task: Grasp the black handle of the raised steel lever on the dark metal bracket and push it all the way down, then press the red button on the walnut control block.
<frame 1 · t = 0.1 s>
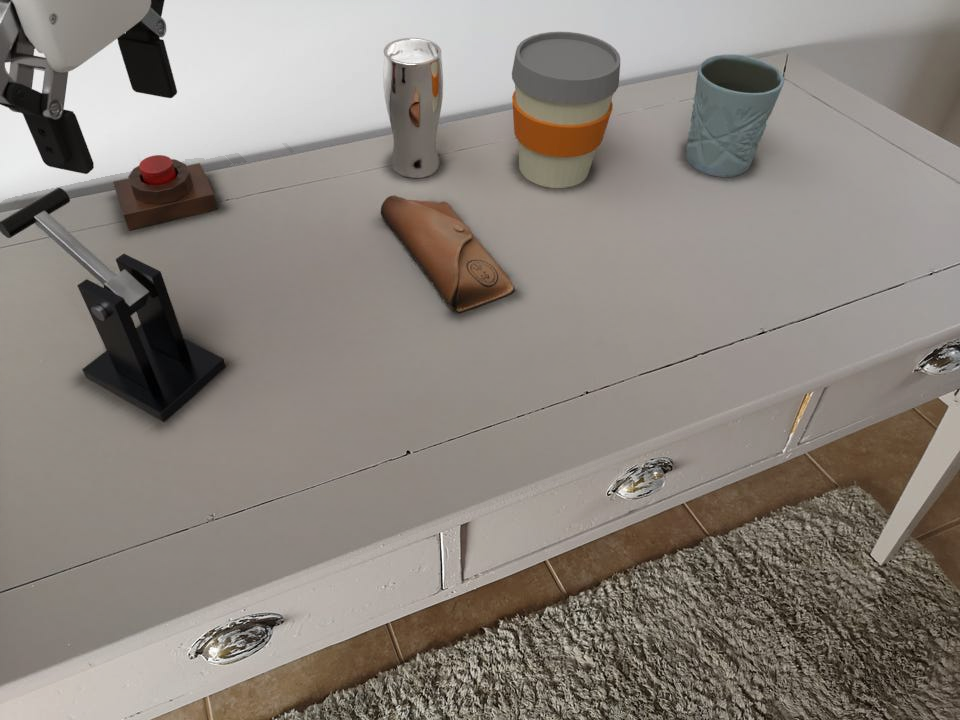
hand: (115, 128, 51), 28 cm above the table, tool pointing down, fingers open, 9 cm apart
bracket: (156, 372, 74), on the table
reusable coffee cup: (553, 169, 100), on the table
button: (157, 170, 88), point 5 cm above the table, slide at 0.2 cm
lever: (83, 256, 66), point 12 cm above the table, hinge at 30.0°
embossed green cup: (715, 160, 103), on the table
sunglasses case: (446, 256, 87), on the table
control block: (167, 203, 92), on the table
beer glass: (415, 166, 99), on the table
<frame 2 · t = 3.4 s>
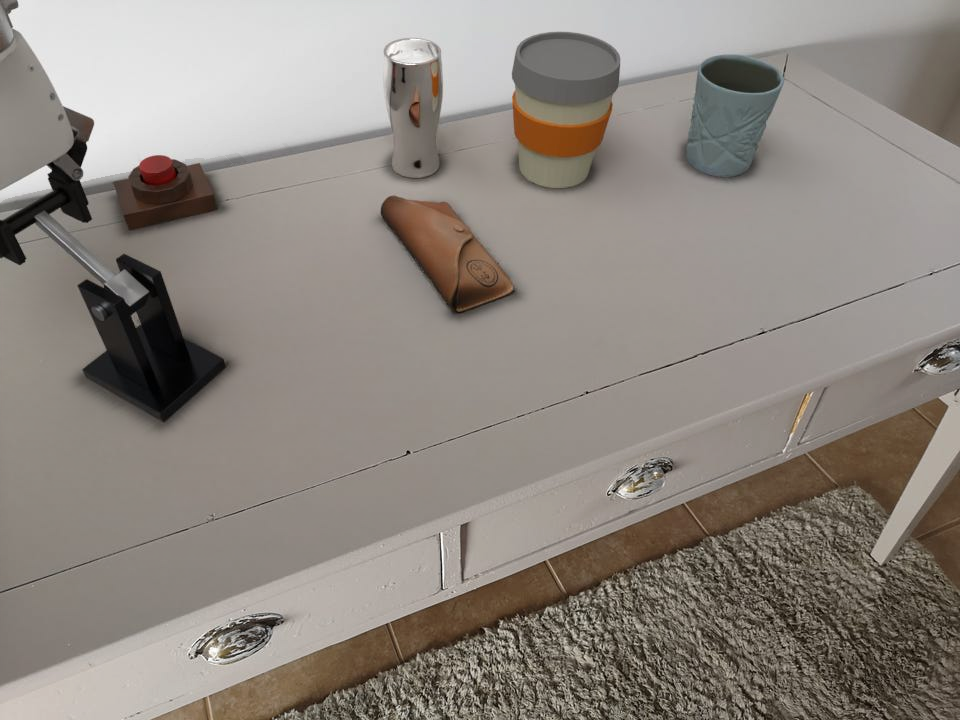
hand: (45, 235, 67), 13 cm above the table, tool pointing down, fingers closed on lever, 6 cm apart
lever: (83, 256, 66), point 12 cm above the table, hinge at 30.0°, touching gripper
everything else where it was.
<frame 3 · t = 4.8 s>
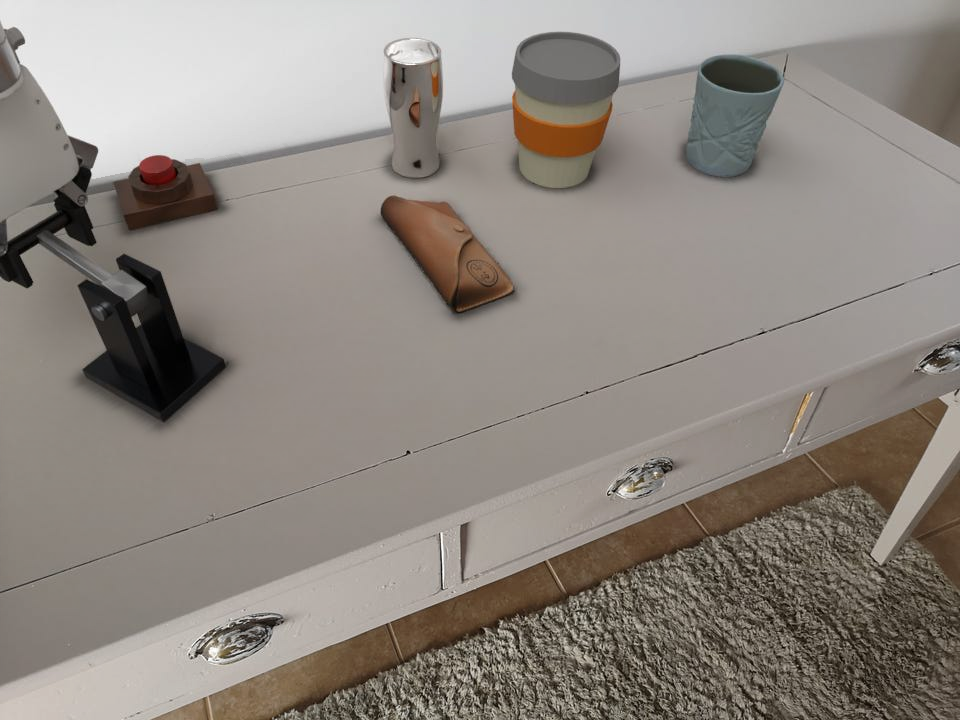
hand: (51, 258, 70), 10 cm above the table, tool pointing down, fingers closed on lever, 6 cm apart
lever: (84, 265, 67), point 11 cm above the table, hinge at 13.4°, touching gripper
everything else where it was.
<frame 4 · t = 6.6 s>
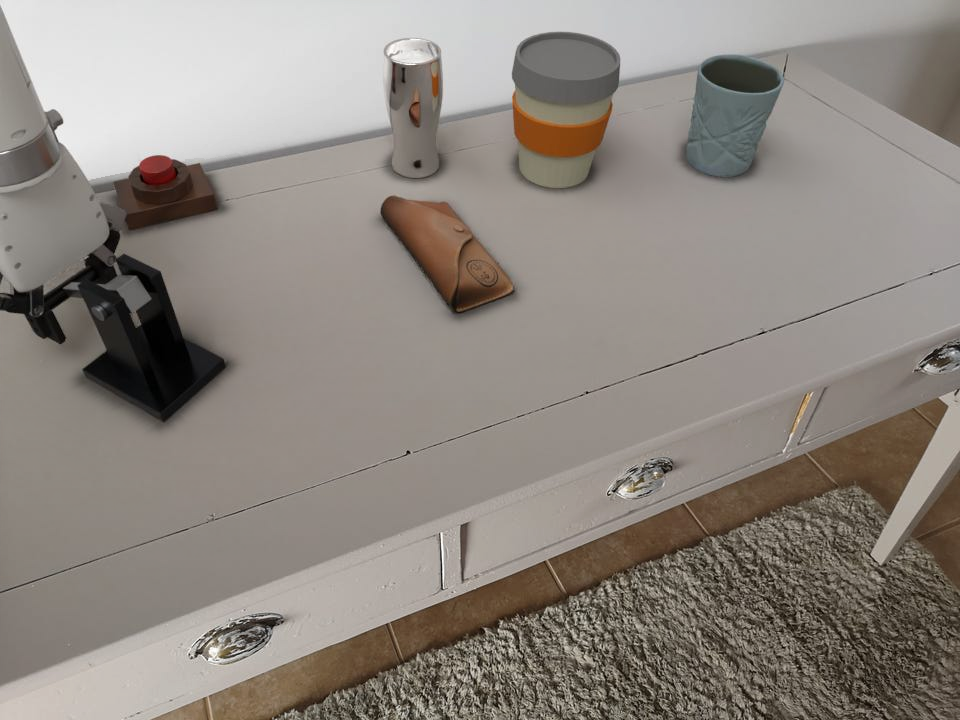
hand: (82, 314, 74), 3 cm above the table, tool pointing down, fingers closed on lever, 6 cm apart
lever: (97, 291, 69), point 8 cm above the table, hinge at -23.2°, touching gripper
everything else where it was.
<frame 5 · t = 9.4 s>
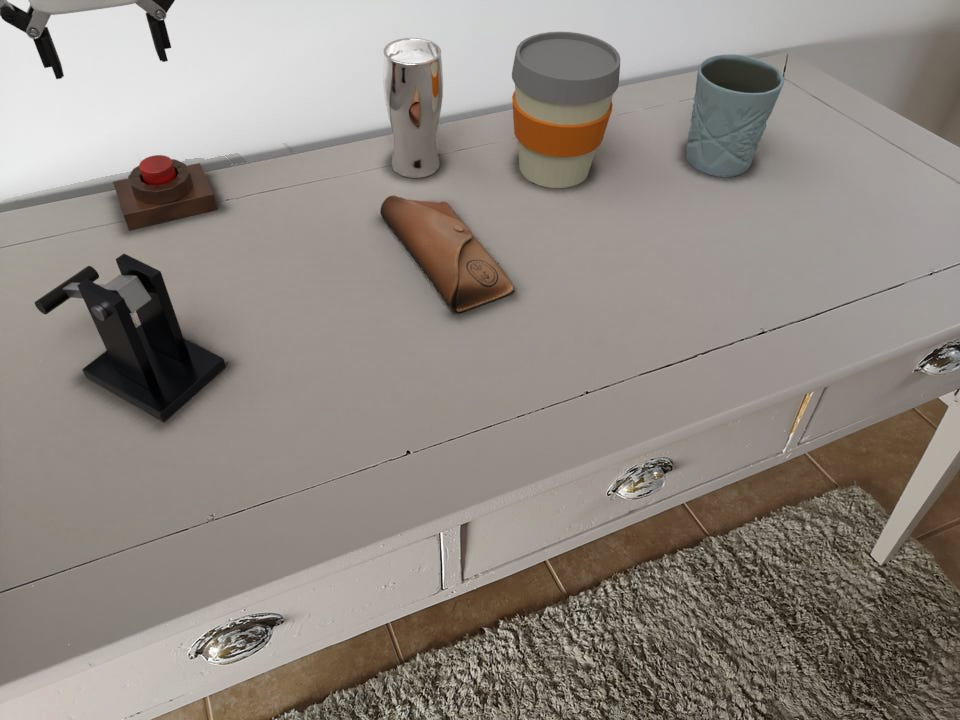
hand: (111, 64, 76), 18 cm above the table, tool pointing down, fingers open, 9 cm apart
lever: (97, 291, 69), point 8 cm above the table, hinge at -23.4°
everything else where it was.
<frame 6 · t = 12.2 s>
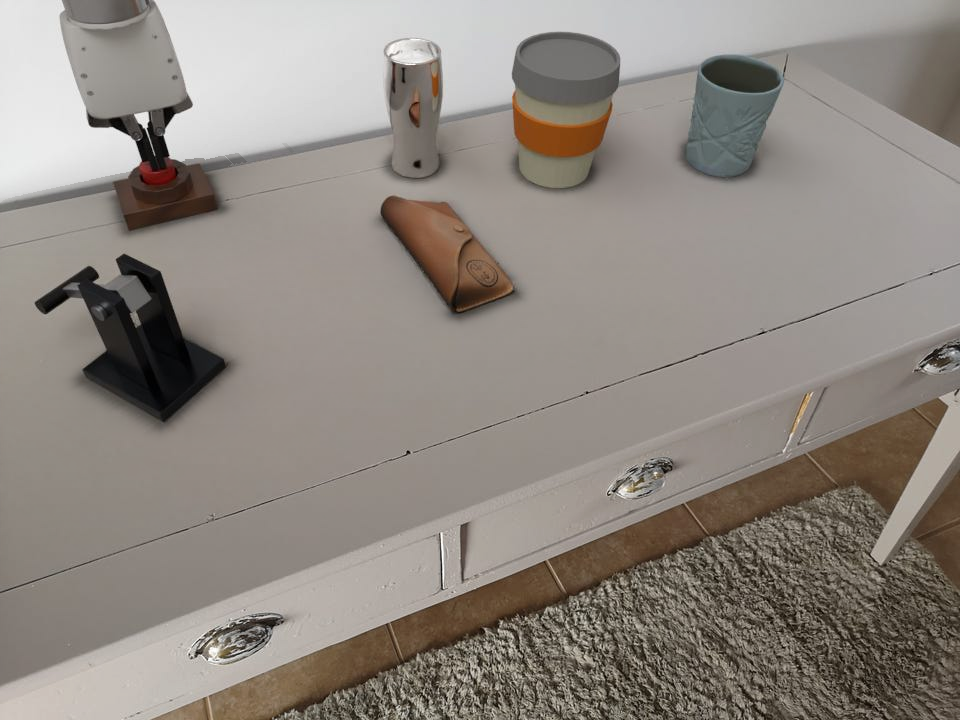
hand: (157, 163, 88), 5 cm above the table, tool pointing down, fingers closed
button: (157, 170, 88), point 5 cm above the table, slide at 0.1 cm, touching gripper
everything else where it was.
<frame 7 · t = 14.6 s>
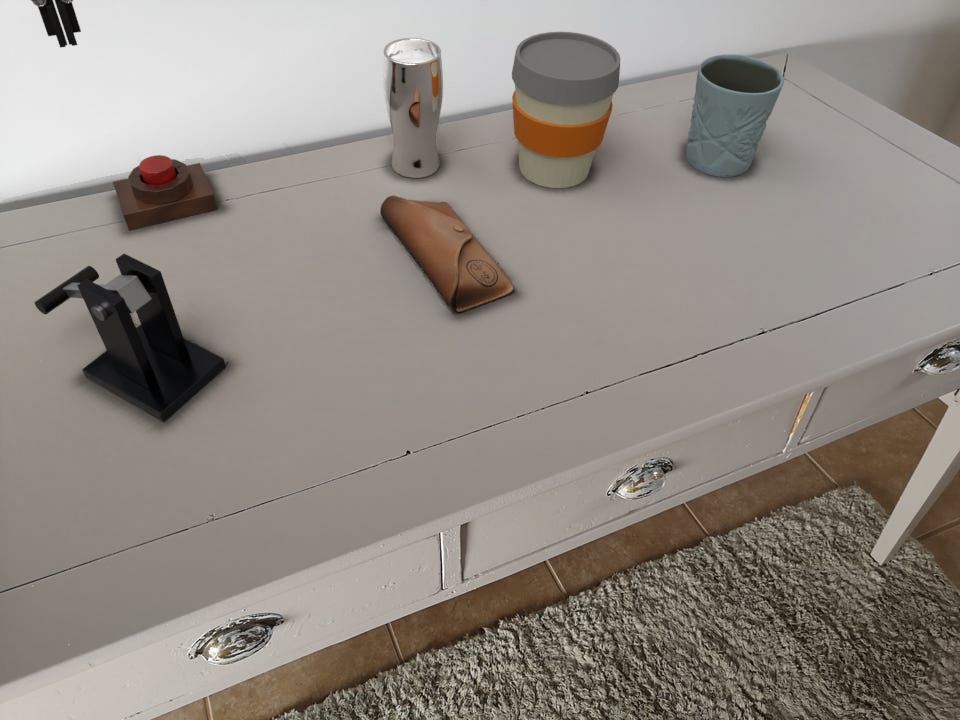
hand: (66, 40, 76), 20 cm above the table, tool pointing down, fingers closed
button: (157, 170, 88), point 5 cm above the table, slide at 0.1 cm
everything else where it was.
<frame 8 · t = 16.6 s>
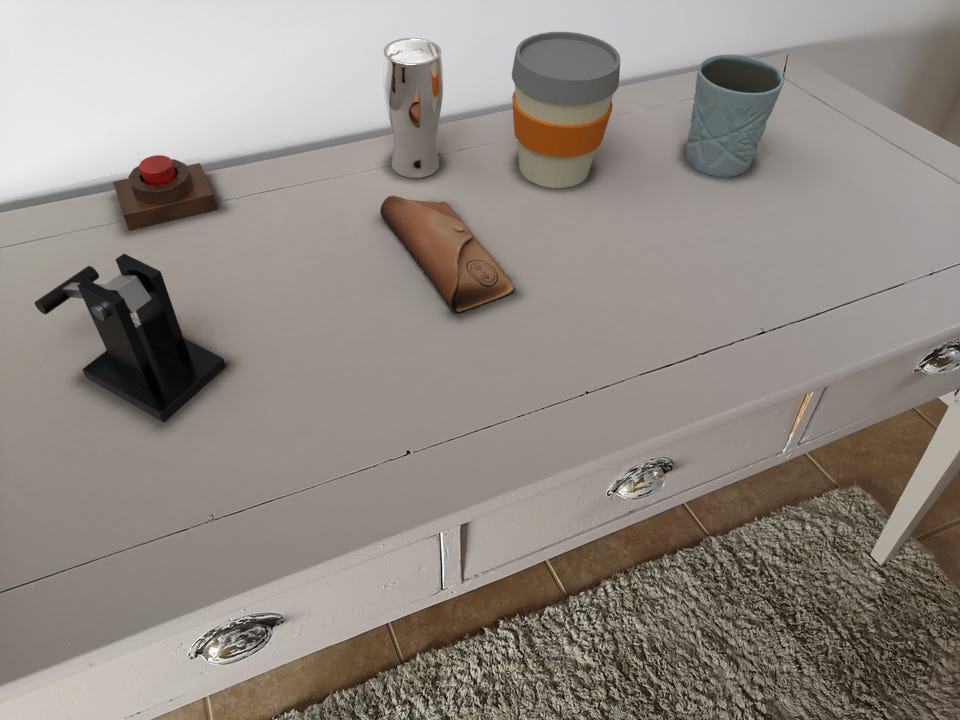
nothing on the table moved.
at the end: lever at -23° (first picture: +30°); button pushed in 1.1 cm at the most during the clip, back to where it started at the end; button slide at 0.1 cm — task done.
